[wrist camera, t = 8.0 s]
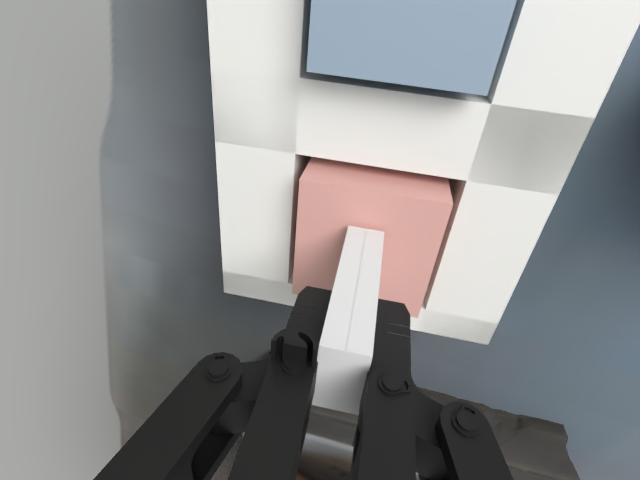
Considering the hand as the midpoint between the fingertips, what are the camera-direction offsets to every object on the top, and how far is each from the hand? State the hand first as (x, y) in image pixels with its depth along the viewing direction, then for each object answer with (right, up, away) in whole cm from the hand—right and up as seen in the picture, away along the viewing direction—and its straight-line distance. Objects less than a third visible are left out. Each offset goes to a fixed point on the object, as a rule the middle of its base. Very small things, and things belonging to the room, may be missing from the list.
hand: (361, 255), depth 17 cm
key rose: (+1, +2, +3) cm, 4 cm away
